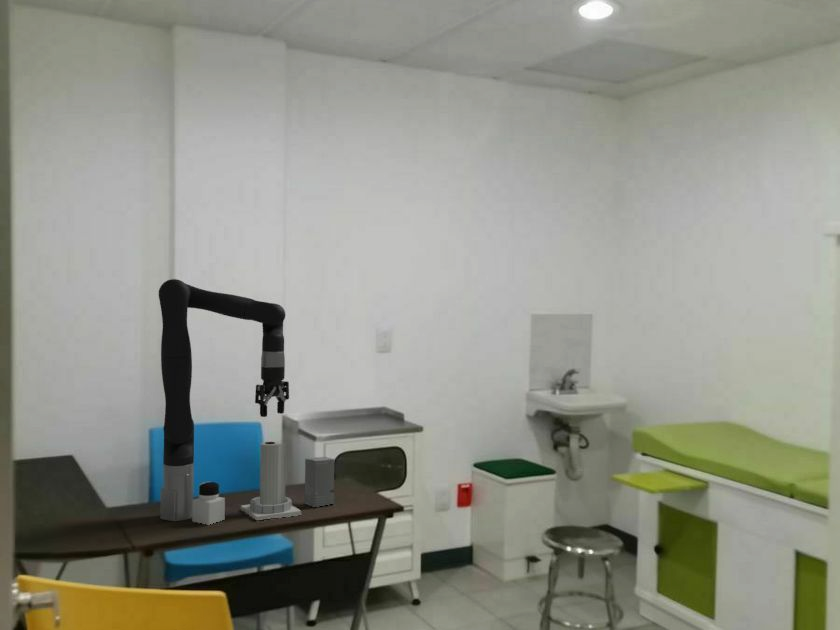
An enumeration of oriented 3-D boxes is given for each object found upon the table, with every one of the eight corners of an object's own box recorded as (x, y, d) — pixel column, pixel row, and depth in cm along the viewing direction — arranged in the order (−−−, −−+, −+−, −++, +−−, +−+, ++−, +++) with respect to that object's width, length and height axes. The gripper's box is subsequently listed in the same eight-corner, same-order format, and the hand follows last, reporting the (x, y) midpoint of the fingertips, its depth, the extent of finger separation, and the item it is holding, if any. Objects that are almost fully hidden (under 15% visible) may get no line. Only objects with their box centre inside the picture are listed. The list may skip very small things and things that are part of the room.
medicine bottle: (225, 520, 260) (225, 482, 260) (208, 525, 254) (209, 486, 254) (208, 516, 264) (209, 479, 264) (191, 522, 258) (192, 483, 257)
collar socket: (256, 521, 260) (256, 508, 260) (240, 510, 273) (241, 497, 272) (301, 515, 267) (301, 503, 267) (283, 504, 280) (284, 492, 280)
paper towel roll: (255, 508, 269) (256, 443, 268) (267, 504, 274) (268, 440, 274) (273, 511, 266) (274, 445, 265) (285, 507, 271) (286, 442, 270)
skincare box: (314, 508, 276) (314, 461, 276) (302, 504, 282) (303, 457, 281) (335, 504, 281) (336, 458, 281) (323, 500, 287) (324, 454, 286)
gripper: (277, 362, 277) (277, 411, 277) (249, 366, 264) (248, 416, 265) (295, 364, 273) (295, 413, 273) (267, 367, 260) (267, 418, 261)
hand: (272, 414), depth 269 cm, fingers open, 8 cm apart
